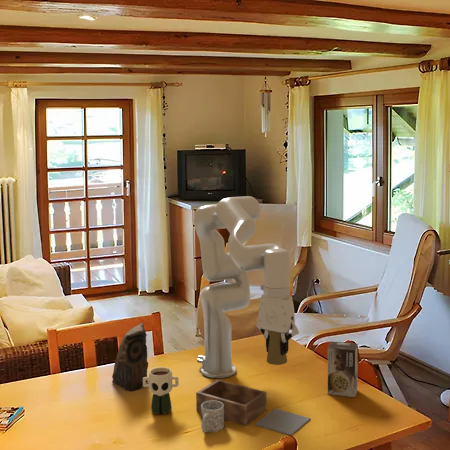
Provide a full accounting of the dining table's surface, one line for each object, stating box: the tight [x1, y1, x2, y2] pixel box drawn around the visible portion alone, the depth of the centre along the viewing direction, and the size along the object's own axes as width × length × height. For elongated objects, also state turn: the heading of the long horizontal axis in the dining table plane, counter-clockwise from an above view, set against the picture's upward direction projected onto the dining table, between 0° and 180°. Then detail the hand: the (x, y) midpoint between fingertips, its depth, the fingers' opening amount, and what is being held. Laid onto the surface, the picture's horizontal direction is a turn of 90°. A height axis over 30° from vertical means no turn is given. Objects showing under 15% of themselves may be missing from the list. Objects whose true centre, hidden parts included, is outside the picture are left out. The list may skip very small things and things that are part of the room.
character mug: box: [142, 366, 180, 415], centre depth 196 cm, size 11×7×13 cm, turn 91°
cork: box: [266, 331, 288, 366], centre depth 186 cm, size 6×6×11 cm
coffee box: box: [327, 340, 359, 398], centre depth 208 cm, size 9×6×16 cm
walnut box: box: [195, 378, 268, 427], centre depth 197 cm, size 18×12×6 cm, turn 56°
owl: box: [111, 322, 149, 392], centre depth 216 cm, size 13×13×20 cm
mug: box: [200, 401, 225, 433], centre depth 185 cm, size 10×7×7 cm
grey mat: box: [254, 408, 311, 437], centre depth 189 cm, size 12×12×1 cm
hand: (277, 351), depth 186 cm, fingers closed on cork, 4 cm apart
